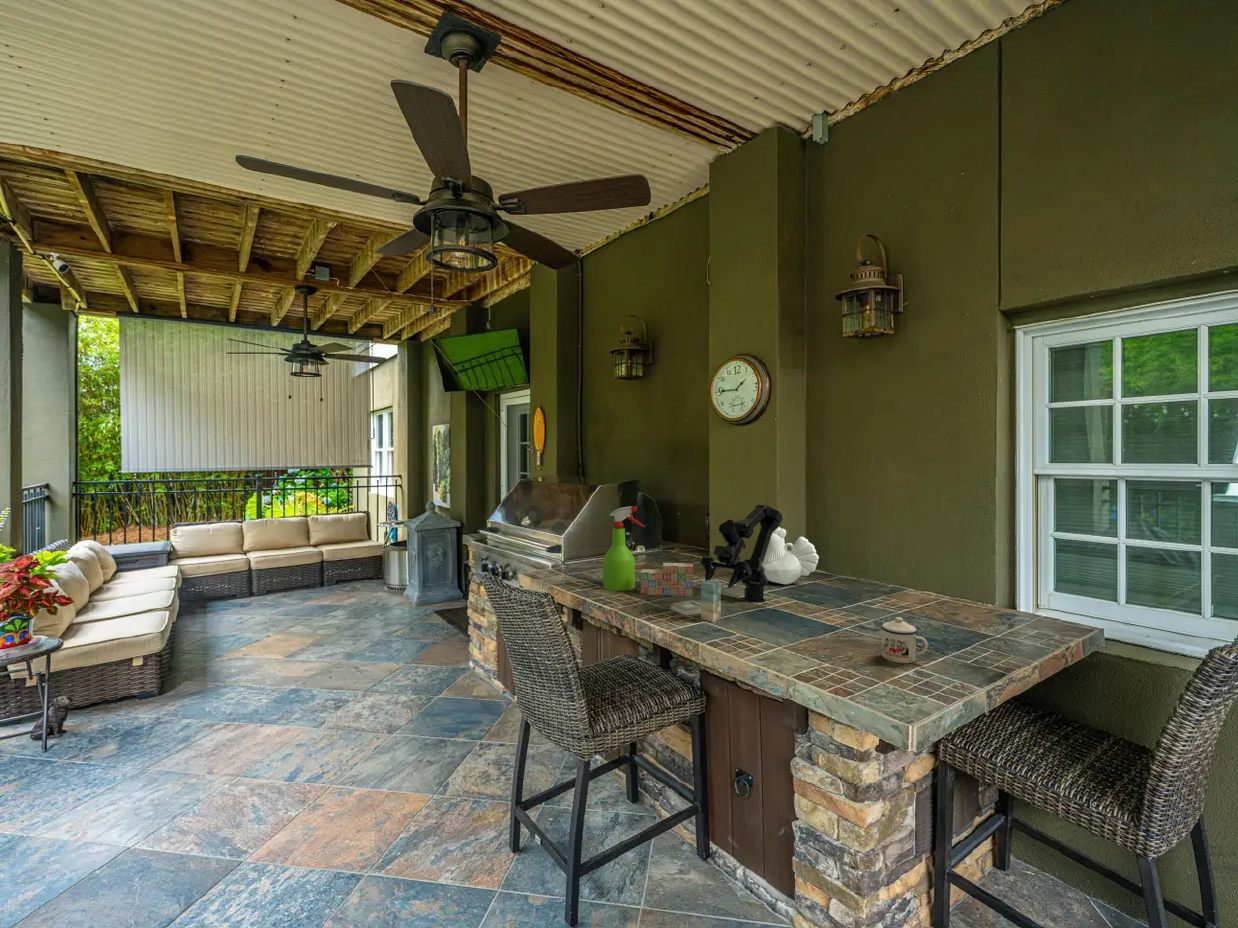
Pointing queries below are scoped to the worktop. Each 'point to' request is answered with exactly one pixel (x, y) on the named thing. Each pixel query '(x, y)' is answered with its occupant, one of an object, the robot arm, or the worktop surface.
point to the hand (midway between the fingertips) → (717, 585)
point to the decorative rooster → (788, 558)
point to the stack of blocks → (668, 580)
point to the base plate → (687, 607)
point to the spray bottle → (620, 555)
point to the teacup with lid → (900, 641)
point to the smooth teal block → (710, 600)
